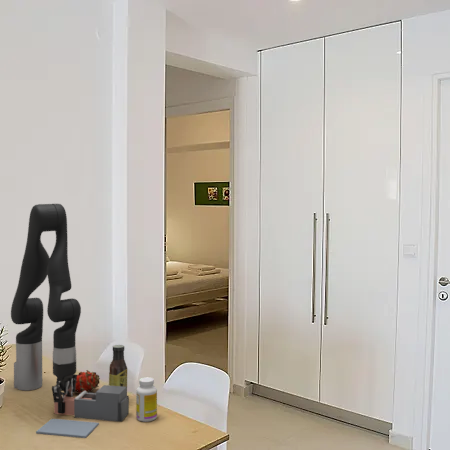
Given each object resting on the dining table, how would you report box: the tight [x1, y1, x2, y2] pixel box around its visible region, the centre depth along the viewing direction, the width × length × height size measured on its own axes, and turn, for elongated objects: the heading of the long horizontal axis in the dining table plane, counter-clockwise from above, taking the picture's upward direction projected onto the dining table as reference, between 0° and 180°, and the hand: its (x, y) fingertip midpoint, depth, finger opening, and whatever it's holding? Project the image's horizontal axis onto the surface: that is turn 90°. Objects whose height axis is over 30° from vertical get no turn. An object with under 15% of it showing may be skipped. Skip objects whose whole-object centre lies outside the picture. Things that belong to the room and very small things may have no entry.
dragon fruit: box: [74, 369, 101, 394], centre depth 207 cm, size 8×8×12 cm
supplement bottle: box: [135, 376, 158, 423], centre depth 185 cm, size 7×7×13 cm
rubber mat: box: [35, 418, 100, 439], centre depth 176 cm, size 16×10×1 cm, turn 80°
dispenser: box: [73, 384, 130, 423], centre depth 186 cm, size 16×7×9 cm, turn 80°
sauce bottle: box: [108, 344, 128, 388], centre depth 198 cm, size 7×6×20 cm
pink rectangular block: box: [53, 395, 91, 416], centre depth 188 cm, size 12×3×5 cm, turn 81°
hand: (64, 410), depth 189 cm, fingers open, 4 cm apart
